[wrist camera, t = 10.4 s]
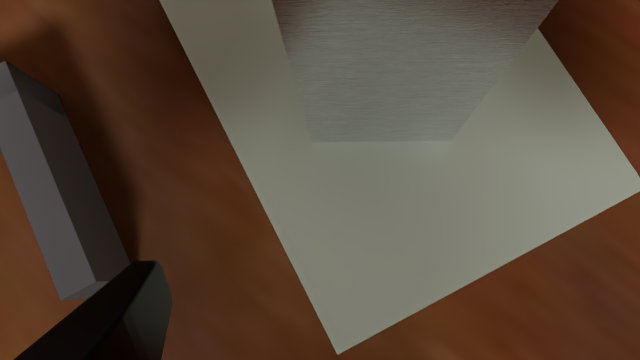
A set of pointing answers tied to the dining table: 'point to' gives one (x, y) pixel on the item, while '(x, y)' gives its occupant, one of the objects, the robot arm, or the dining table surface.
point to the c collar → (57, 187)
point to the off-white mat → (401, 173)
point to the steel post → (400, 62)
